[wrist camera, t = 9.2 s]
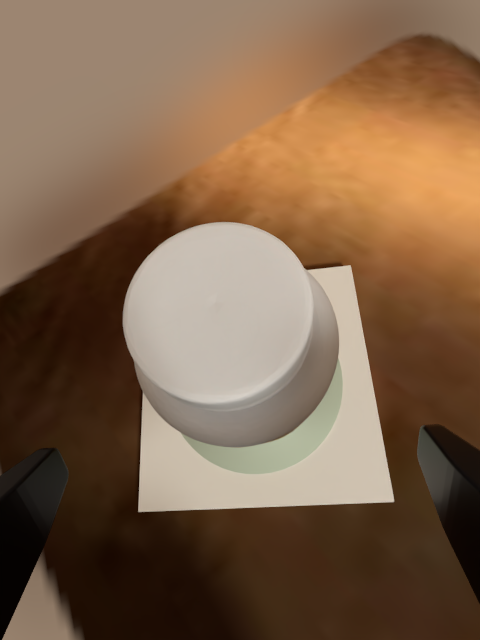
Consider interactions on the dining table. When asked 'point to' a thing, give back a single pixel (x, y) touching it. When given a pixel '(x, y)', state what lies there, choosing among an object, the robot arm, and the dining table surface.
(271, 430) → the supplement bottle
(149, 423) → the card
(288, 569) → the dining table surface
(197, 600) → the dining table surface
